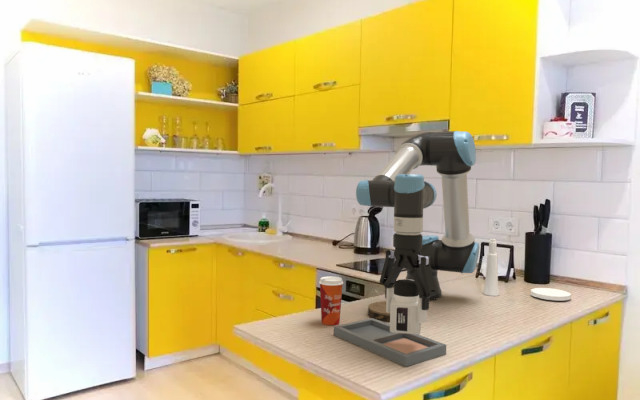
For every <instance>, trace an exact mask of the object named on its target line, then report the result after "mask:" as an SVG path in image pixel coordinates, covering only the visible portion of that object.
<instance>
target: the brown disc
mask: <svg viewBox="0 0 640 400" xmlns="http://www.w3.org/2000/svg"><path fill="white" fill-rule="evenodd" d="M367 308H368V309H367V315H368V316H369V317H370V318H374V319H376V320H379V321H382V322H385V323H390V312H389V313H388V312H386V301H385V300H384V301H383V300H382V301H376V302H371V303H369V304H368V307H367Z"/></svg>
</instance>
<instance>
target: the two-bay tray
mask: <svg viewBox="0 0 640 400" xmlns="http://www.w3.org/2000/svg"><path fill="white" fill-rule="evenodd" d="M333 336H336V337H337V338H340V339H342V340H344V341H346V342H348V343H351V344H354V345H356V346H357V347H360V348H362V349H364V350H367V351H369V352H371V353H373V354H375V355H378V356H380V357H383V358H385V359H387V360H390V361H391V362H394V363H396V364H398V365H401V366H402V367H405V368H408V367H411V366H413V365H417V364H420V363H422V362H426V361H430V360H432V359H437V358H440V357H442V356H445V355H447V344H446V343H442V342H440V341H437V340H434V339H431V338H429V337H427V336H423V335H421V334H420V335H417V334H405V333H392V332H390V323H388V322H384V321H379V320H376V319H374V318H371V317H370V318H365V319H362V320H357V321H352V322H348V323H342V324H337V325H333Z"/></svg>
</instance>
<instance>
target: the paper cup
mask: <svg viewBox="0 0 640 400" xmlns="http://www.w3.org/2000/svg"><path fill="white" fill-rule="evenodd" d="M318 283H319V293H320V294H319V295H320V297H319V298H320V316H321V324H323V325H324V326H338V325H340V320H341V307H342V295H343V284H344V281H343V279H342V277H339V276H332V275H331V276H330V275H329V276H322V277H320V279H319V281H318Z"/></svg>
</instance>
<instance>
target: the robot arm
mask: <svg viewBox="0 0 640 400" xmlns="http://www.w3.org/2000/svg"><path fill="white" fill-rule="evenodd" d="M476 154H477V153H476V144H475V140H474V137H473V136H472V134H471V133H470V132H468V131H459V130H455V131H453V130H452V131H433V132H430V131H426V132H421V133H418V134H416V135H414V136H411V137H409V138H408V139H406V140H405V141H403V142H402V143H401V144H400V145H399V146H398V147H396V151H395V153H394V156H393V157H392V158H390V160H389V161H388V162H387V163H386V164H385V165H384V166H383V167H382V168H381V169H380V171H379V172H378V173H377V174H376V175H375V176H374V177H373V178H372V179H370V180H369V179H366V180H360V181H359V182H358V183H357V185H356V189H355V198H356V201H357V203H358V204H359V205H360V206H365V207H370V208H372V207H378V208H379V207H383V208H384V207H385V208H393V231H394V232H395V233H393V236H392V237H393V238H392V241H393V242H392V246H393V247H394V249H387V250H386V251H385V259H384V263H383V266H382V269H381V274H380V278H379V284H380V285H383V286H384V289H385V290H384V293H385V294H384V298H385V299H386V312H388V313H389V312H390V305H391V300H392V297H393V296H394V282H395V281H397V280H398V278H399V276H400V275H401V272H402V270H403V269H405V270H406V277H405V279H410V280H414V281H415V283H416V285H417V288H418V290H419V297H418V317H417V322H418V323H421V324H422V323H425V322H426V323H427V322H428V311H429V309H430V300H437V299H441V298H442V294H443V291H442V289H441V285H440V281H439V278H438V271H440V272H443V271H444V272H450V273H451V272H452V273H459V274H473V273H474V272H475V270H476V268H477V264H478V260H479V254H480V243H479V242H477V241H475V237H474V235H473V234H471V232H470V216H469V215H470V213H469V211H470V210H469V197H468V196H469V194H468V191H469V190H468V176H467V175H468V173H470V172H471V170H472V166H475V164H476V159H477V156H476ZM420 166H431V167H432V166H434V167H436V173H438V175H440V176H441V188H442V201H443V202H442V204H443V219H444V220H443V221H444V235H443V236H442V237H441V239H440V238H439V236H438V235H423V234H422V233H423V231H424V209H427V208H428V207H430V206H432V205H433V204H434V203H435V202H436V199H437V189H436V187H435V186H434V185H433V184H432V183H430V182H428V181H426V180H424V179H425V177H424V175H423V174H419V173H418V174H416V173H412V174H410V173H411V172H412V171H413V170H415V169H418V168H419V167H420Z"/></svg>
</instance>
